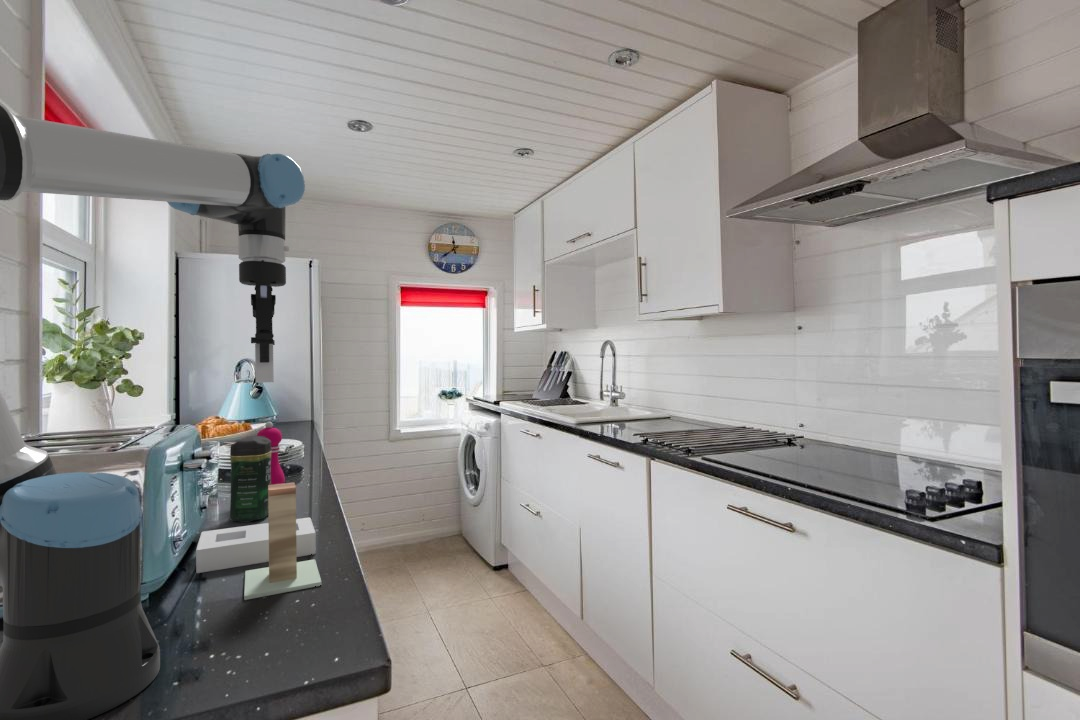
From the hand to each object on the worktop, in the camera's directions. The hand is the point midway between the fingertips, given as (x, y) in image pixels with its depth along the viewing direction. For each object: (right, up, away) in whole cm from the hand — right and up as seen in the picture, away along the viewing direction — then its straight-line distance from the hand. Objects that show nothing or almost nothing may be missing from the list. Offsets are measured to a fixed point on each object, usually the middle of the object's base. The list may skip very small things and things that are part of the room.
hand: (264, 380), depth 98 cm
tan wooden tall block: (+7, -32, -8) cm, 34 cm away
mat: (+7, -33, -8) cm, 34 cm away
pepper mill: (-21, -33, +45) cm, 59 cm away
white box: (-3, -33, +4) cm, 33 cm away
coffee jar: (-17, -33, +28) cm, 46 cm away
